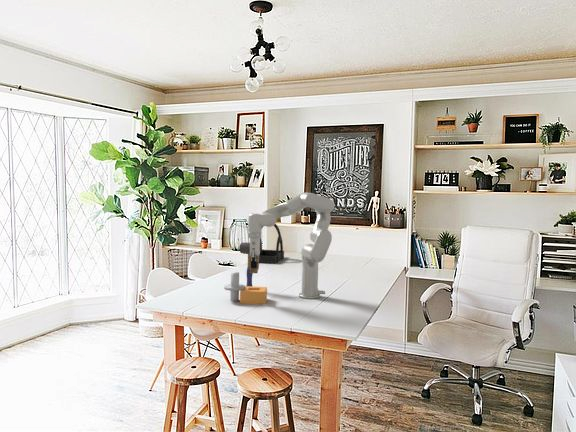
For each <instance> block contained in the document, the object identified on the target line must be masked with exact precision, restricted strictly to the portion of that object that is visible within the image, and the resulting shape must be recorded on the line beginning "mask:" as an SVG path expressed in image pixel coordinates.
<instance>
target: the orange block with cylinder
mask: <svg viewBox="0 0 576 432" xmlns="http://www.w3.org/2000/svg"><path fill="white" fill-rule="evenodd" d="M223 288H224V290H226V291H229V292H230V302H238V301H239V304H248V305H249V304H250V305H265V304H266V302H267V300H268V299H267V298H268V287H267V286H252V287H251V286H246V285H245V284H241V283H240V272H239V271H232V272H230V284H225V285H224V287H223Z"/></svg>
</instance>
